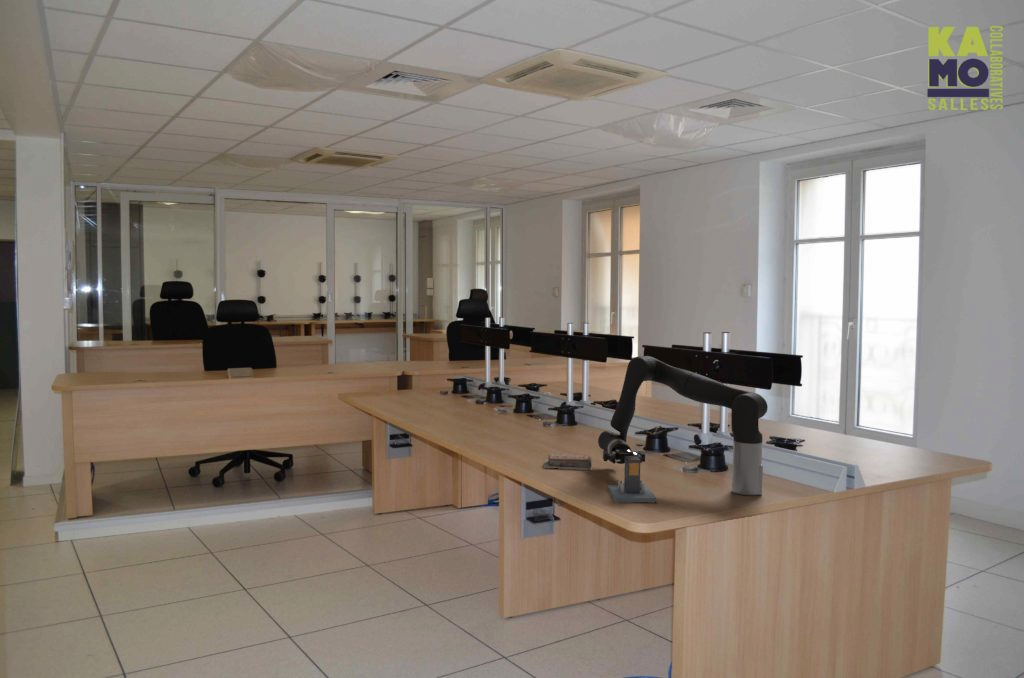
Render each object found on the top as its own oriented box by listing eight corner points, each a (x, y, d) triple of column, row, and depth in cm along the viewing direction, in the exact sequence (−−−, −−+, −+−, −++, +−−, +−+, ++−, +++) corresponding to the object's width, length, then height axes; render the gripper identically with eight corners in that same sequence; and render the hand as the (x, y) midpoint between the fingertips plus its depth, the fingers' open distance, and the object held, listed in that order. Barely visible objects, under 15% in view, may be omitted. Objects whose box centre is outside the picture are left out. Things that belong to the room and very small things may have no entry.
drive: (636, 489, 249) (637, 456, 248) (639, 493, 242) (640, 459, 242) (624, 488, 248) (624, 455, 248) (627, 493, 242) (628, 459, 242)
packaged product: (592, 453, 291) (591, 459, 281) (591, 466, 291) (591, 471, 282) (545, 451, 294) (543, 456, 284) (545, 463, 294) (543, 469, 284)
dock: (646, 489, 254) (646, 476, 253) (656, 502, 238) (656, 488, 237) (607, 489, 253) (608, 476, 253) (615, 502, 237) (615, 488, 237)
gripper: (599, 440, 270) (606, 449, 253) (639, 440, 270) (648, 450, 254) (599, 461, 270) (605, 471, 254) (638, 461, 270) (647, 472, 254)
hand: (627, 460), depth 254 cm, fingers open, 8 cm apart
